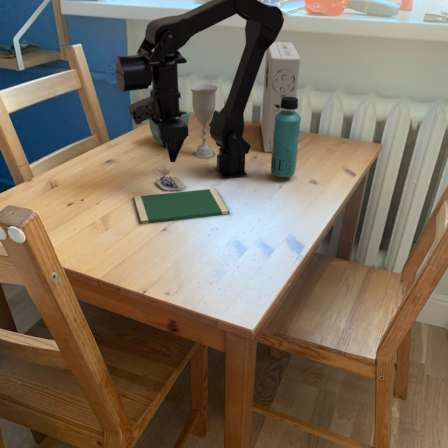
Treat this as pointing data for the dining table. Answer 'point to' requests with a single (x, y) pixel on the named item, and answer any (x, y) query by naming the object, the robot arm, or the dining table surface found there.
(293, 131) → the beverage bottle
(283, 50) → the cereal box
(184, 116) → the flower pot
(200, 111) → the chalice
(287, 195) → the dining table surface
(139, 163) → the dining table surface
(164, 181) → the blueberries
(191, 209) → the green flat rectangular block
